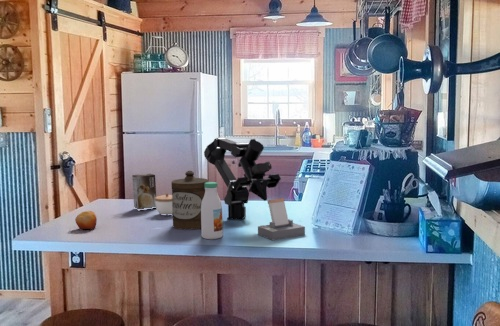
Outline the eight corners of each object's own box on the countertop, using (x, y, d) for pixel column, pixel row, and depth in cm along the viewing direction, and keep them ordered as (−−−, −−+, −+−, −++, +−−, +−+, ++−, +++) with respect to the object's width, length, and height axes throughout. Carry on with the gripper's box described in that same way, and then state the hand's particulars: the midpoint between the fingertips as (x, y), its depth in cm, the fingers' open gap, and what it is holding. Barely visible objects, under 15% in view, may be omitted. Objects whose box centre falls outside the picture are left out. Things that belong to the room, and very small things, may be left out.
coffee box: (152, 206, 254) (151, 173, 252) (157, 209, 249) (155, 174, 247) (133, 209, 249) (132, 174, 248) (137, 211, 244) (136, 176, 242)
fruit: (104, 222, 216) (97, 207, 211) (94, 236, 210) (87, 221, 206) (87, 221, 219) (79, 206, 214) (77, 235, 213) (69, 220, 208)
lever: (272, 227, 197) (267, 200, 198) (286, 225, 200) (280, 199, 201) (275, 226, 195) (270, 199, 197) (289, 224, 198) (284, 197, 200)
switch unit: (258, 234, 198) (257, 221, 198) (289, 229, 205) (289, 216, 205) (272, 240, 190) (272, 226, 189) (304, 234, 197) (304, 221, 196)
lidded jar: (151, 214, 238) (150, 193, 237) (172, 210, 244) (171, 190, 243) (162, 218, 229) (161, 196, 228) (184, 214, 236) (183, 193, 234)
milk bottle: (206, 240, 191) (205, 185, 188) (198, 236, 197) (196, 182, 195) (226, 237, 194) (225, 183, 192) (217, 233, 201) (216, 180, 199)
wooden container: (166, 228, 210) (164, 172, 208) (183, 220, 224) (181, 168, 222) (200, 231, 205) (198, 173, 203) (216, 222, 219) (214, 169, 217)
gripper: (236, 156, 203) (252, 189, 195) (277, 153, 213) (294, 184, 204) (227, 175, 211) (241, 207, 203) (267, 171, 220) (283, 201, 212)
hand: (265, 199), depth 205 cm, fingers closed
